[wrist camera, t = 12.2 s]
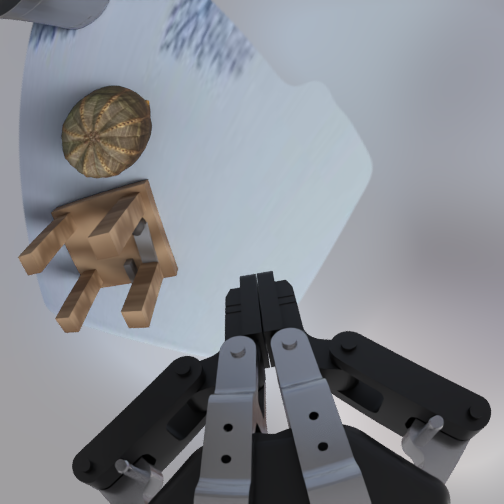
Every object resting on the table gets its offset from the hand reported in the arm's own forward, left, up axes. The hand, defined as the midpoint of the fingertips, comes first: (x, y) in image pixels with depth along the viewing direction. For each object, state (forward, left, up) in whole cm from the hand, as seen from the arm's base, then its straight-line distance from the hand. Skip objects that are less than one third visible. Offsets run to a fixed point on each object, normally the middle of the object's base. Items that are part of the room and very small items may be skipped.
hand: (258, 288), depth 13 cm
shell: (-8, -15, -29) cm, 34 cm away
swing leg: (+11, -17, -27) cm, 33 cm away
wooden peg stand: (+9, -23, -29) cm, 38 cm away
